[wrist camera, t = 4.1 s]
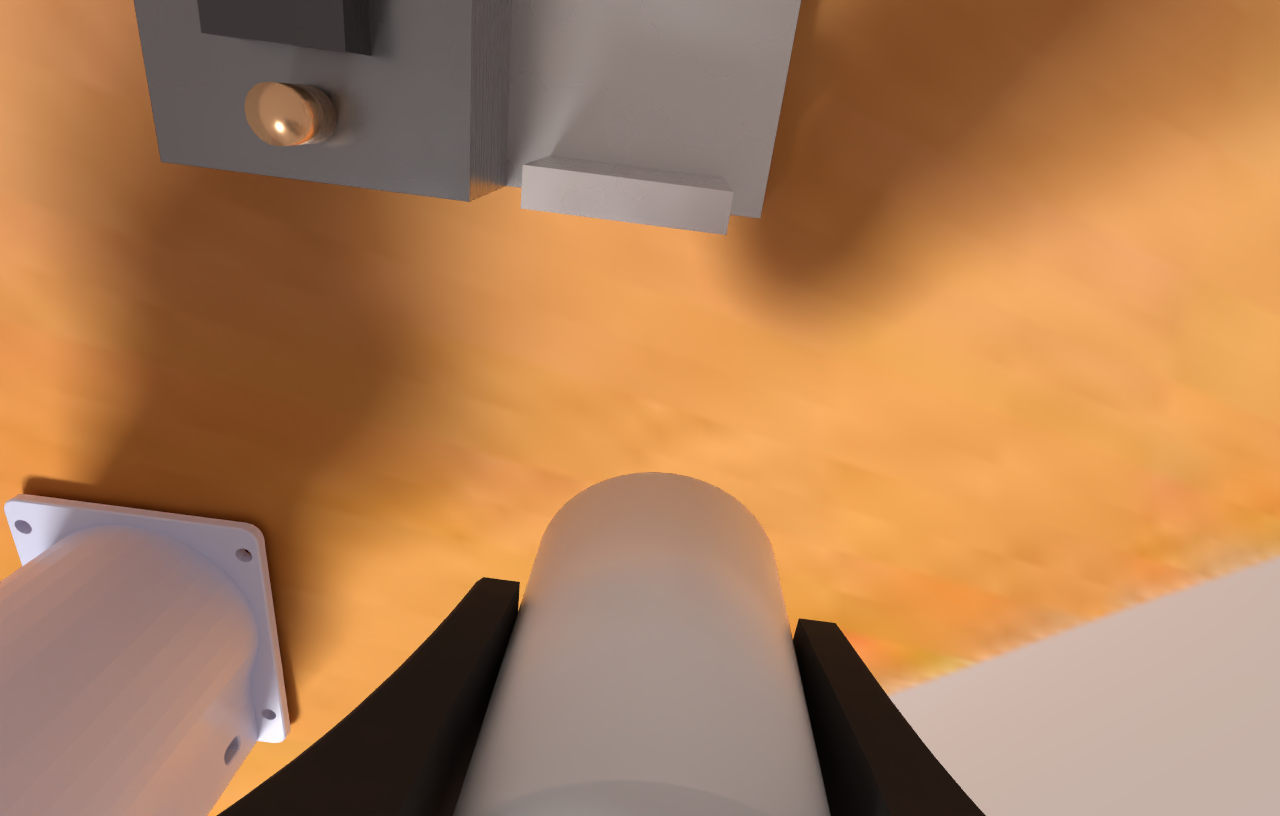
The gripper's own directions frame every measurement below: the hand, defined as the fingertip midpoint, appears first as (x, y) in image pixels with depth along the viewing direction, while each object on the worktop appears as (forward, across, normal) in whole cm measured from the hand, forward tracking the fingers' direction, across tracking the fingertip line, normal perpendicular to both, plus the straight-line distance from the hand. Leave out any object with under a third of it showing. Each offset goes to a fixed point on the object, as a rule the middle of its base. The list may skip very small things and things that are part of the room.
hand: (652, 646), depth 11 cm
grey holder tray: (+9, +5, -10) cm, 14 cm away
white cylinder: (+2, 0, 0) cm, 2 cm away
